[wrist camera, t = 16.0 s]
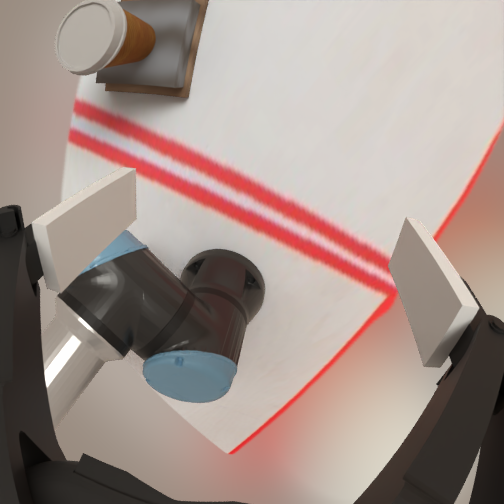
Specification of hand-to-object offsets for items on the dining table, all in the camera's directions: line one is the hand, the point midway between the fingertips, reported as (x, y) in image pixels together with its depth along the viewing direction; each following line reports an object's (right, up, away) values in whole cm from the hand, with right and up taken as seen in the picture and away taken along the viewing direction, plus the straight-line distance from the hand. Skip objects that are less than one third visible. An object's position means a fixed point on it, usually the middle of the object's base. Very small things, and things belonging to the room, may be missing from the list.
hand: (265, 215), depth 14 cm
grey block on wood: (-15, +29, +23) cm, 40 cm away
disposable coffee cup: (-16, +27, +19) cm, 37 cm away
